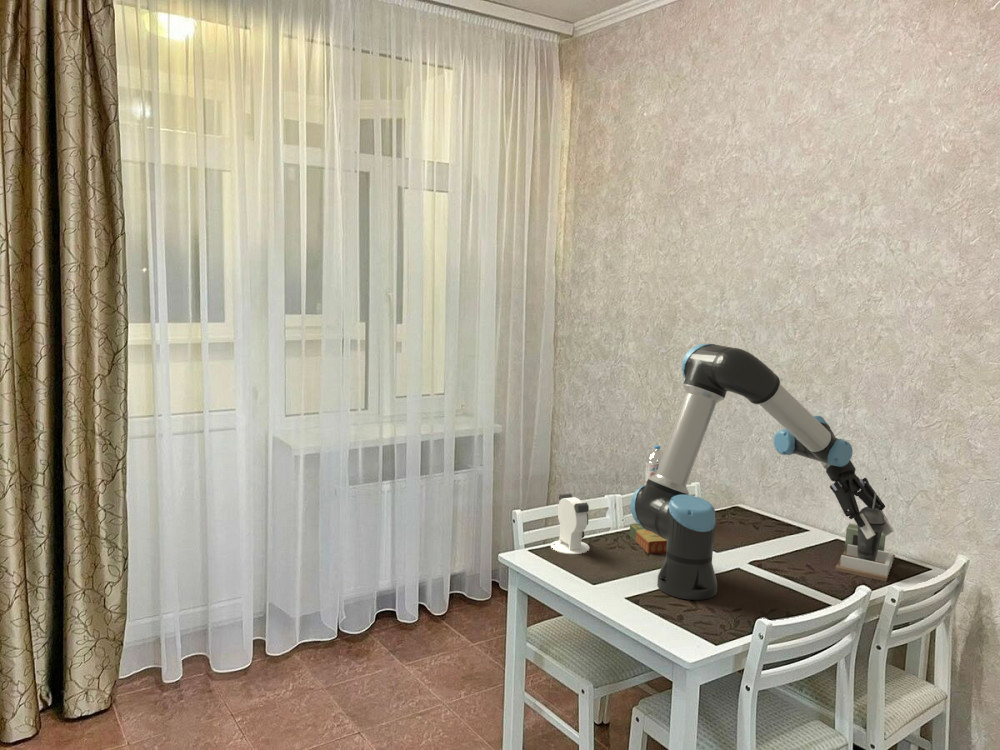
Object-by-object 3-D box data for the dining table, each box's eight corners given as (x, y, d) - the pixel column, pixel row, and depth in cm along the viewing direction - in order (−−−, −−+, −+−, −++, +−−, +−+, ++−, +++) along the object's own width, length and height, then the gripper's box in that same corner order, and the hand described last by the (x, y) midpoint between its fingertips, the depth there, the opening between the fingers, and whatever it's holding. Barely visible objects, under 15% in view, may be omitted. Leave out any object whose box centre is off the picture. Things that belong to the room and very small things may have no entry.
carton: (647, 555, 226) (648, 541, 226) (628, 536, 242) (629, 523, 241) (674, 554, 228) (675, 539, 227) (653, 535, 244) (654, 522, 243)
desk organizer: (886, 581, 212) (889, 553, 210) (835, 570, 218) (837, 543, 217) (894, 558, 230) (897, 532, 229) (847, 548, 236) (849, 523, 235)
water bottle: (666, 519, 259) (671, 445, 255) (658, 524, 253) (663, 449, 250) (646, 515, 262) (651, 442, 259) (639, 520, 257) (643, 446, 253)
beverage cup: (874, 556, 224) (882, 488, 221) (884, 565, 217) (892, 496, 214) (848, 554, 225) (855, 487, 222) (857, 563, 217) (865, 494, 215)
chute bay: (887, 576, 213) (888, 565, 212) (840, 566, 219) (841, 556, 219) (892, 563, 223) (893, 553, 222) (846, 553, 229) (847, 543, 229)
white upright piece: (597, 552, 226) (600, 502, 224) (563, 557, 222) (566, 506, 220) (576, 538, 237) (579, 491, 235) (544, 543, 232) (546, 494, 230)
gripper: (851, 467, 236) (894, 536, 224) (804, 473, 226) (847, 545, 215) (868, 454, 230) (913, 524, 218) (821, 460, 221) (866, 533, 209)
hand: (880, 535), depth 217 cm, fingers closed on beverage cup, 7 cm apart
